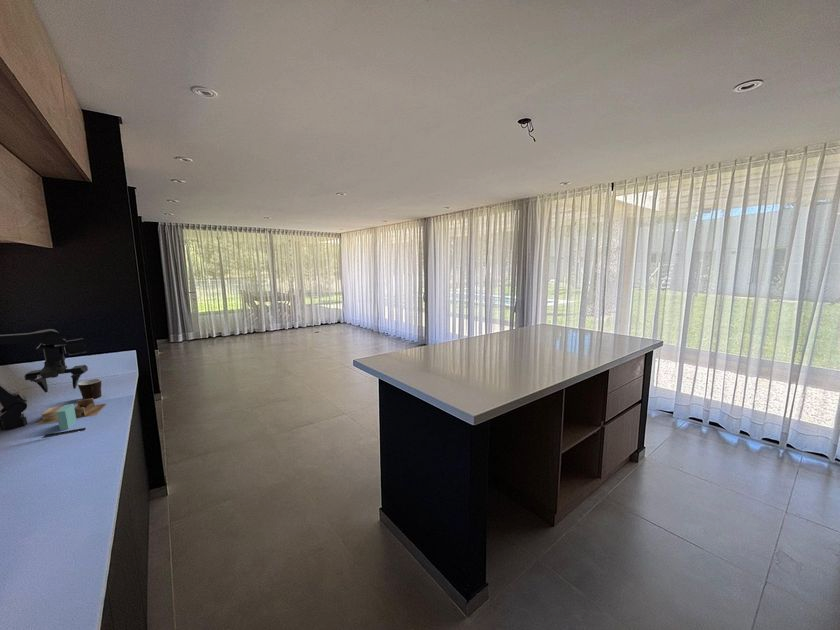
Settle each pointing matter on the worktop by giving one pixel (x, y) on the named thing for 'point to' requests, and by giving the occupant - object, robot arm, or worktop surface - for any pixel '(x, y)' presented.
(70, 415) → the teal rectangular block
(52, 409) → the oak offcut upper
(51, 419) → the oak offcut lower
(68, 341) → the robot arm
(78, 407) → the walnut rack
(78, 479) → the worktop surface
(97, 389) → the coffee mug
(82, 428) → the charcoal mat
